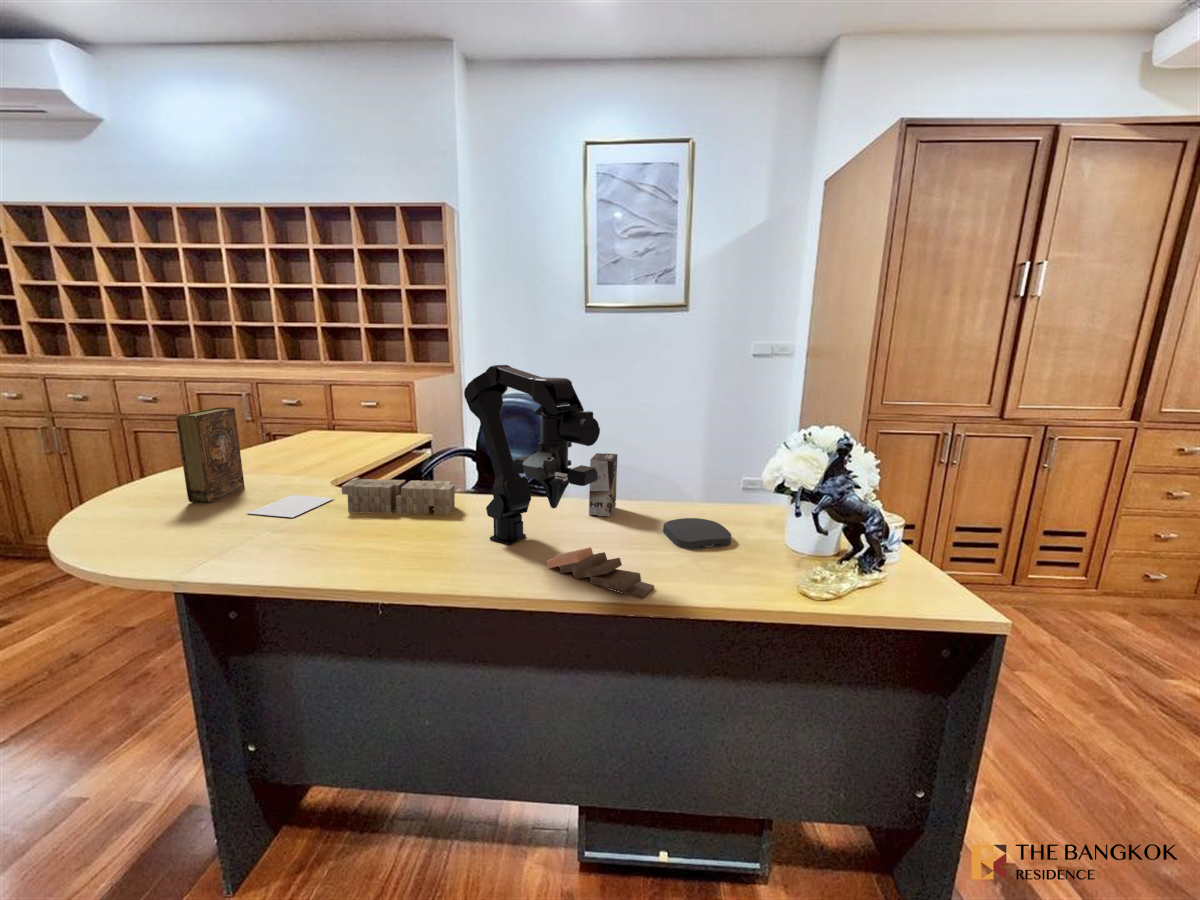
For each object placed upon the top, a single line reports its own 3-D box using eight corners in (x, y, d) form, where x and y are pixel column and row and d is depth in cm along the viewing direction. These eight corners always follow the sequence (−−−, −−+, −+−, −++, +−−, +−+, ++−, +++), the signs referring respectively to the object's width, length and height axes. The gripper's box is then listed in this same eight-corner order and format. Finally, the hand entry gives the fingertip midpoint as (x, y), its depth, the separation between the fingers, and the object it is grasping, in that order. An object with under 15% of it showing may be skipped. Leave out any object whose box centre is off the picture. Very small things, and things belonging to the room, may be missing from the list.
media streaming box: (658, 529, 137) (659, 518, 136) (709, 526, 140) (710, 515, 140) (680, 552, 123) (681, 540, 122) (736, 547, 127) (737, 535, 126)
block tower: (457, 509, 150) (356, 503, 150) (457, 481, 149) (354, 475, 149) (449, 519, 143) (342, 512, 143) (449, 489, 141) (341, 483, 141)
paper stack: (364, 502, 151) (364, 500, 151) (302, 534, 127) (302, 532, 127) (292, 496, 155) (292, 494, 155) (219, 526, 131) (219, 524, 131)
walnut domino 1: (558, 565, 110) (590, 559, 104) (574, 558, 114) (604, 552, 108) (561, 573, 110) (592, 567, 104) (576, 565, 114) (607, 559, 108)
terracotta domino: (545, 561, 112) (576, 554, 106) (560, 553, 116) (591, 547, 110) (548, 568, 112) (578, 562, 106) (563, 560, 116) (593, 554, 110)
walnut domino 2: (572, 571, 107) (604, 565, 102) (587, 563, 111) (619, 557, 106) (574, 578, 107) (607, 573, 102) (590, 570, 111) (621, 565, 106)
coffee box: (610, 517, 144) (612, 460, 140) (588, 515, 145) (589, 459, 141) (616, 507, 152) (618, 453, 149) (594, 505, 153) (596, 452, 150)
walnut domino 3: (590, 576, 105) (623, 582, 99) (606, 567, 109) (640, 573, 102) (591, 583, 105) (624, 590, 99) (607, 574, 109) (641, 580, 102)
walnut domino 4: (602, 583, 104) (643, 595, 100) (614, 574, 108) (654, 585, 104) (602, 591, 105) (642, 603, 100) (614, 581, 109) (653, 592, 104)
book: (230, 487, 162) (219, 406, 157) (247, 487, 162) (237, 407, 157) (188, 503, 146) (175, 415, 141) (208, 504, 146) (195, 415, 141)
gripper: (495, 438, 109) (496, 509, 112) (570, 451, 100) (568, 528, 103) (529, 430, 118) (528, 496, 122) (600, 441, 109) (597, 512, 113)
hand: (553, 507), depth 114 cm, fingers closed
